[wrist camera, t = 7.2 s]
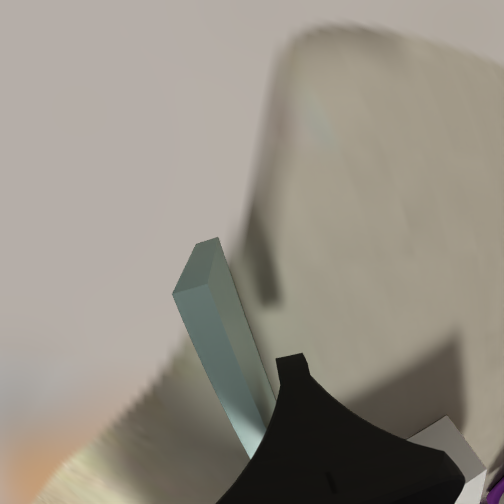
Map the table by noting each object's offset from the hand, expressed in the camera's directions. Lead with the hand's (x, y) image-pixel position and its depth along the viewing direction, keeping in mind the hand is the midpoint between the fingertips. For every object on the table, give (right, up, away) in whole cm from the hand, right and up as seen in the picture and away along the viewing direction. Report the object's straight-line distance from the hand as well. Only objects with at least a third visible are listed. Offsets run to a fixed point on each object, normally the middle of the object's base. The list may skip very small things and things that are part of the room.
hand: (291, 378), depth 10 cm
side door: (-1, -2, +3) cm, 4 cm away
